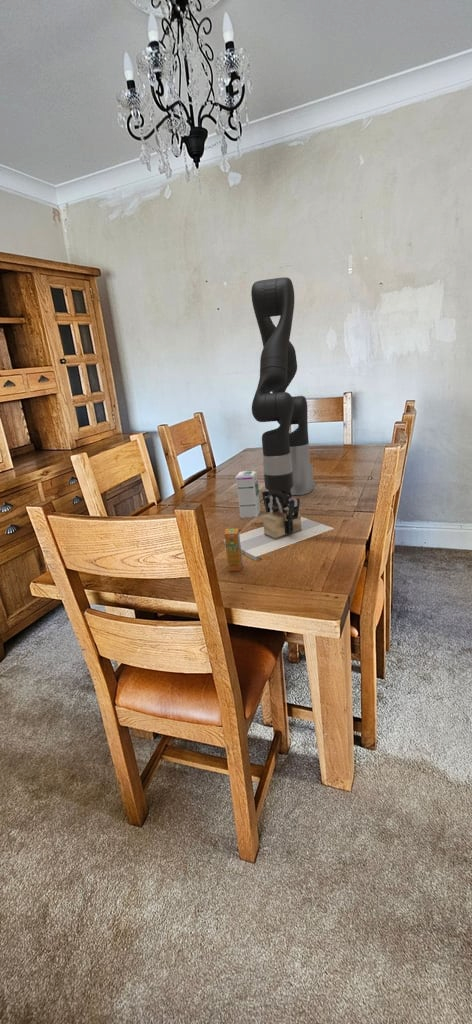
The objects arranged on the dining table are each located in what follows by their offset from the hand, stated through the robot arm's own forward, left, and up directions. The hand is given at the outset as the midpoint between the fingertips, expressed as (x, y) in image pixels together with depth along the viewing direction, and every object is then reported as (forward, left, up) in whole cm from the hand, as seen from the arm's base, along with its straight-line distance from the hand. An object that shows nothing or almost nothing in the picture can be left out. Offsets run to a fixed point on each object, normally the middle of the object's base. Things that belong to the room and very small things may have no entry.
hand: (282, 530), depth 131 cm
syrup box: (-3, -20, -2) cm, 21 cm away
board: (+1, 0, -2) cm, 2 cm away
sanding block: (0, 0, -1) cm, 1 cm away
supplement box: (+20, +8, -2) cm, 22 cm away
